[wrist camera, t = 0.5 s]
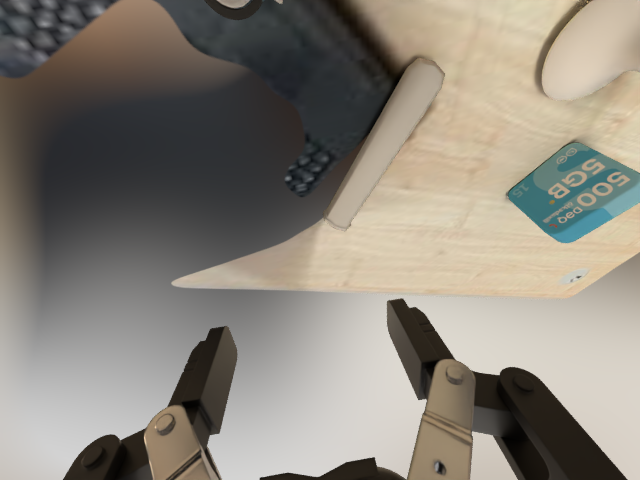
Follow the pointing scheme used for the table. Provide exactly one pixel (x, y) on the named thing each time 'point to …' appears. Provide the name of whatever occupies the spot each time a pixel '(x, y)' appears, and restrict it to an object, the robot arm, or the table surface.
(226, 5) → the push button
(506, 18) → the table surface
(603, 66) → the flower in vase
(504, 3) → the table surface
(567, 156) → the data package
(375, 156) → the tube
